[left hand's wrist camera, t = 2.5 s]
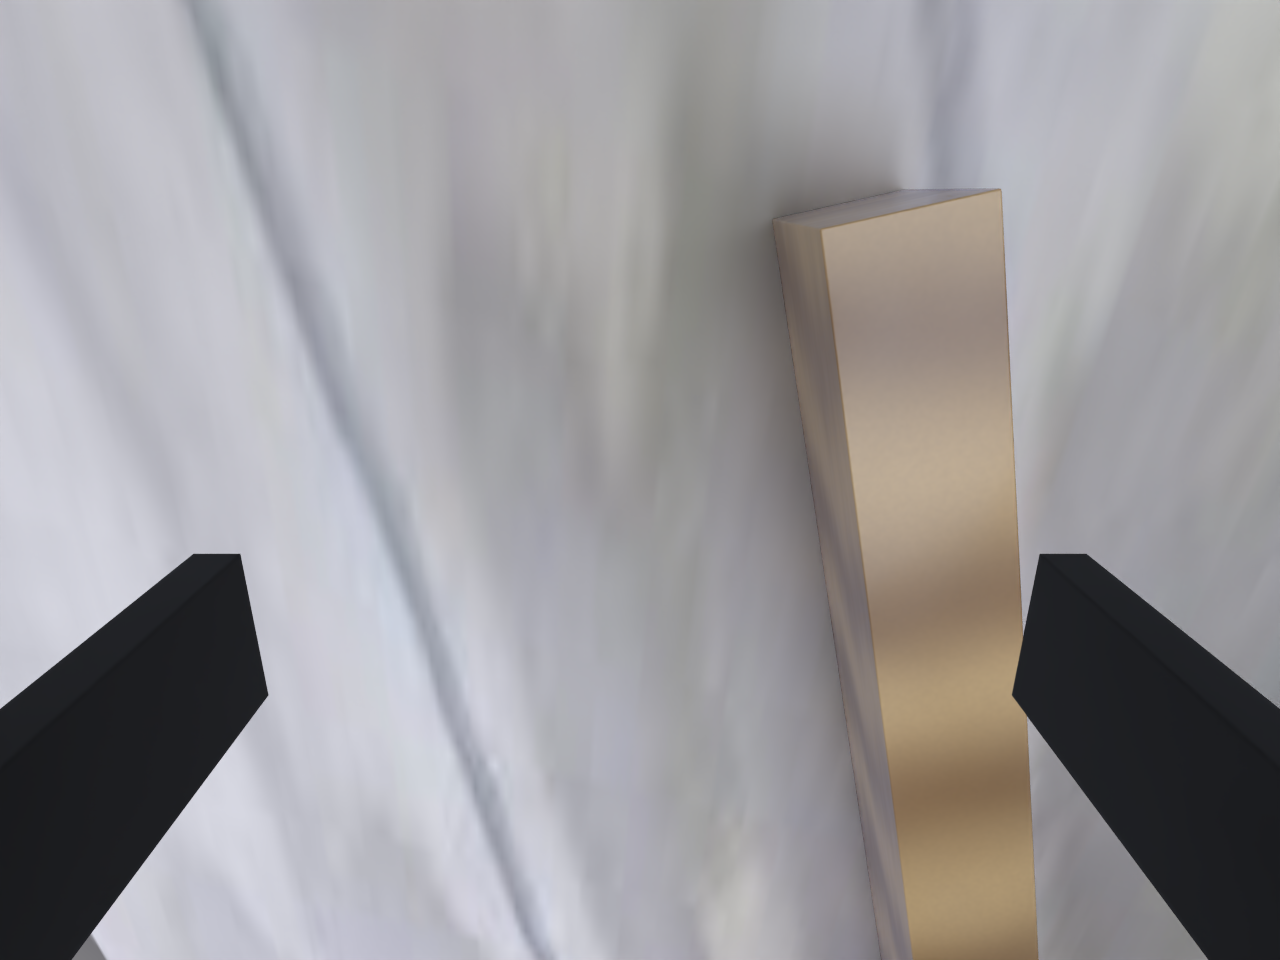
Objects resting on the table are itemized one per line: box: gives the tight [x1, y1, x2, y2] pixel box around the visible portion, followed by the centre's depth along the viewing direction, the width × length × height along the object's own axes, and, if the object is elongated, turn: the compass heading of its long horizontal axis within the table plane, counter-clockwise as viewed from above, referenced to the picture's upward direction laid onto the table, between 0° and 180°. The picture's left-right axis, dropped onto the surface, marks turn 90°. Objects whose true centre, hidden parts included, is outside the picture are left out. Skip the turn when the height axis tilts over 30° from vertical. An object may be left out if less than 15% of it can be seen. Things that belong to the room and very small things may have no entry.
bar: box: [772, 189, 1038, 960], centre depth 36 cm, size 61×5×8 cm, turn 12°
